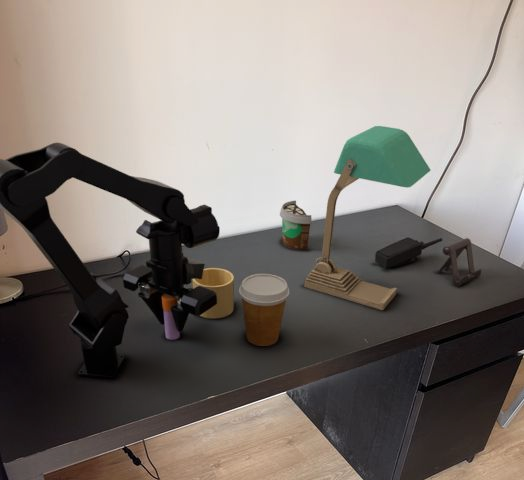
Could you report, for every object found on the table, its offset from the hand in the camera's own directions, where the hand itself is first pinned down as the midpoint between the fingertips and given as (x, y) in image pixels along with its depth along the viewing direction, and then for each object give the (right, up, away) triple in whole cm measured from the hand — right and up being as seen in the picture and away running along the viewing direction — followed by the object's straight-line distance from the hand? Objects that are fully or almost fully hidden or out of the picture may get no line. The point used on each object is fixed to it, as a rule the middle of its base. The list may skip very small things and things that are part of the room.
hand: (172, 327), depth 104 cm
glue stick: (0, -2, +1) cm, 2 cm away
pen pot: (+7, +5, +10) cm, 14 cm away
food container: (+25, +24, +40) cm, 53 cm away
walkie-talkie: (+56, +19, +34) cm, 68 cm away
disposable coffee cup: (+18, -2, +2) cm, 18 cm away
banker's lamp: (+39, +9, +19) cm, 44 cm away
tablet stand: (+66, +14, +27) cm, 72 cm away
